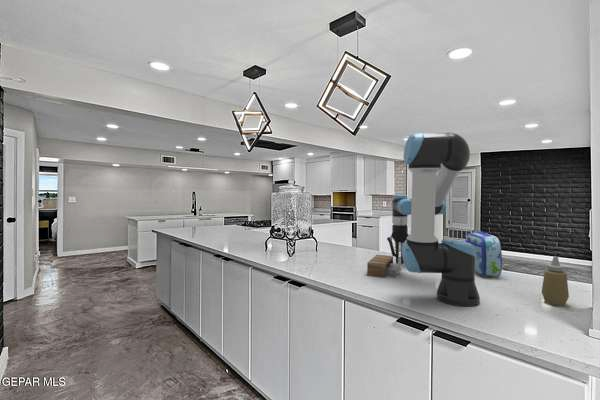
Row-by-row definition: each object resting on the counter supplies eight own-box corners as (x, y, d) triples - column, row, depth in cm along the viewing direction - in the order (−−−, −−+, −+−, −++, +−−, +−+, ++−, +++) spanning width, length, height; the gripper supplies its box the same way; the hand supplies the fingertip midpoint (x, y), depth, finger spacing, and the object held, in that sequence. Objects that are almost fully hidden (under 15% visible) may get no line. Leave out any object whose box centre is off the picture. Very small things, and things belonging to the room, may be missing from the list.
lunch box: (463, 266, 179) (463, 229, 178) (483, 267, 177) (484, 229, 176) (479, 278, 153) (480, 235, 153) (503, 279, 151) (504, 236, 151)
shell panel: (396, 277, 156) (396, 269, 156) (371, 274, 162) (371, 267, 162) (400, 270, 170) (400, 263, 170) (378, 268, 175) (378, 261, 175)
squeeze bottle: (539, 303, 119) (540, 256, 119) (543, 298, 125) (544, 253, 124) (567, 309, 113) (568, 259, 113) (570, 303, 119) (571, 256, 118)
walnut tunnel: (385, 277, 155) (385, 264, 155) (367, 275, 159) (367, 262, 159) (393, 267, 175) (393, 255, 175) (376, 266, 179) (376, 254, 179)
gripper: (414, 224, 163) (413, 269, 163) (388, 223, 168) (388, 267, 169) (412, 225, 156) (412, 273, 157) (385, 224, 162) (385, 270, 162)
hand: (399, 270), depth 163 cm, fingers closed
